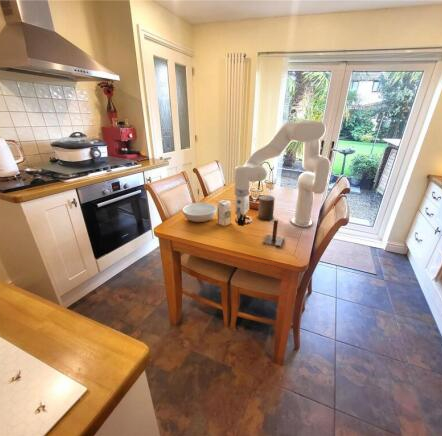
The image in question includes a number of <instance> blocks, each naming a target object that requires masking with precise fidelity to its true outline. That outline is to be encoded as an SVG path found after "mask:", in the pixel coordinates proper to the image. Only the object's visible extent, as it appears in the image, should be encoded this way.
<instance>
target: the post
mask: <svg viewBox="0 0 442 436" xmlns="http://www.w3.org/2000/svg"><path fill="white" fill-rule="evenodd" d="M278 224H279V219H278V218H274V219H273V226H272V235H270V234H269V235H268V234H267V235H266V236H265V239H264V241H263V245H267V246H268V245H269V246H274V247H275V248H278V249H281V248H282V246H283V242H284V237H280V236H277V234H278V233H277V232H278Z"/></svg>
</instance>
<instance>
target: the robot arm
mask: <svg viewBox="0 0 442 436" xmlns="http://www.w3.org/2000/svg"><path fill="white" fill-rule="evenodd" d="M326 130H327V128H326V124H325V123H323V122H322V121H319V120H308V119H302V120H298V122H295V121H286V122H284V123H282V124H281V127H280V128H279V129H278V130H277V131H276V133H275V134H274V135H273V136H272V137H271V139H270V140H269V141H268V143H266V144H265V145H263V146H262V147H260V148H259V149H257V150H255V151H254V152H253V153H252V154H251V155H250V157H248V159H247V160H246V161H245V163H244V165H237V166H235V168H234V195H235V202H234V206H235V207H234V213H235V215H236V217H237V218H238V224H237V226H238V227H239V226H240V227H244V226H245V225H244V222H246V219H245V217H244V216H247V213H248V212H249V210H250V194H251V182H262V181H264V180H266V178H267V177H268V171H267V168H266V167H264V166H262V164H263V163H265V161H267V160H270V159H275V158H278V157H280V156H281V155H282V154H283V153H284V151H285V150H286V149H287V148H288V147H289V145H290V144H291V143H292V142H295V143H303V152H302V163H301V166H302V168H303V170H306V171H305V172H302V173H301V174H300V175H299V176H298V179H297V195H296V196H297V197H296V203H295V211H294V217H292V218H291V221H290V222H291V223H292V225H294V226H297V227H301V228H309V227H310V226H312V225H313V221H312V220H311V216H312V210H313V205H314V200H315V194H318V195H321V194H323V193H324V192H325V191H326V190H327V187H328V183H329V178H330V171H331V162H330V159H329V158H328V157H327V156H324V155H322V154H321V141H320V140H321V139H323V137H324V136H325V134H326Z"/></svg>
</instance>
